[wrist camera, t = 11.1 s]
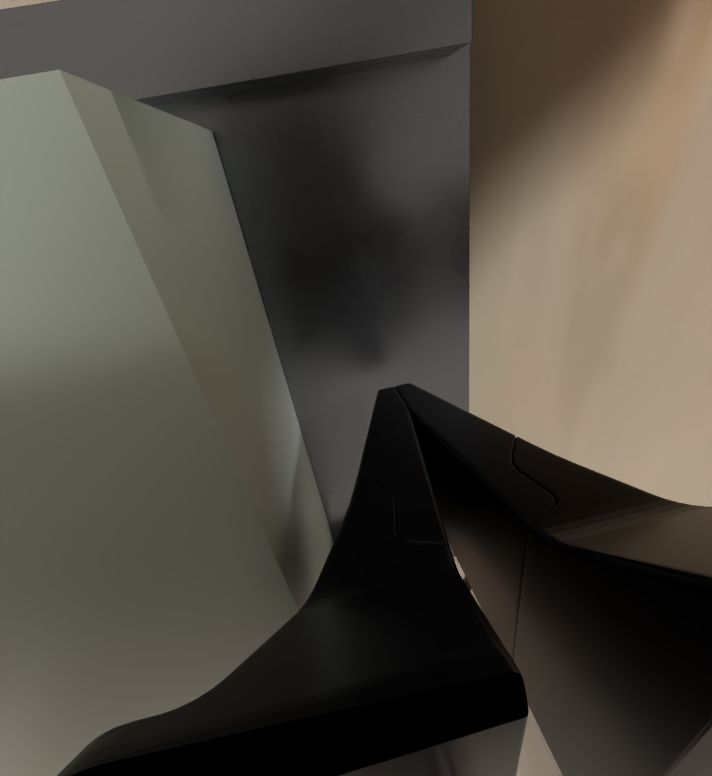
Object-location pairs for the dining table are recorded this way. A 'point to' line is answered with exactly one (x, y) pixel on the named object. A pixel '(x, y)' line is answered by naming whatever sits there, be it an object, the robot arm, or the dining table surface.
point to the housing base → (313, 177)
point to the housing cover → (133, 425)
